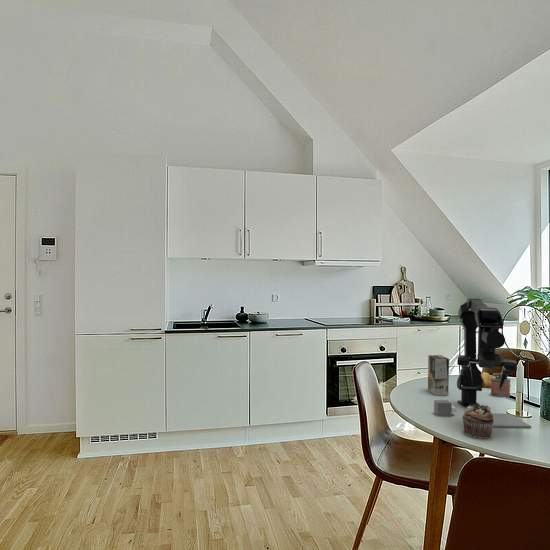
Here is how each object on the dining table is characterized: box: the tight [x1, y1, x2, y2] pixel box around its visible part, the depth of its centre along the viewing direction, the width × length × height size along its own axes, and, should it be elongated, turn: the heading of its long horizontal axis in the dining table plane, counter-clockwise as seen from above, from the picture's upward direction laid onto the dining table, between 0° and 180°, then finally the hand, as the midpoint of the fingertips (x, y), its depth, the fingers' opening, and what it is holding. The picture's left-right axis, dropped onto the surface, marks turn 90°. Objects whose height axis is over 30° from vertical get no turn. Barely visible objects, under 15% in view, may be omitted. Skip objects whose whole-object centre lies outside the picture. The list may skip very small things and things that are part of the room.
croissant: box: [481, 371, 512, 389], centre depth 206 cm, size 21×10×8 cm, turn 60°
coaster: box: [491, 412, 532, 429], centre depth 156 cm, size 13×13×1 cm
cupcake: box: [461, 402, 494, 439], centre depth 143 cm, size 10×10×10 cm
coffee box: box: [427, 354, 450, 396], centre depth 193 cm, size 9×6×16 cm
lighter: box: [490, 372, 511, 398], centre depth 189 cm, size 8×3×10 cm, turn 84°
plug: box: [433, 399, 457, 417], centre depth 162 cm, size 4×7×5 cm, turn 91°
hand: (485, 386), depth 152 cm, fingers open, 9 cm apart
